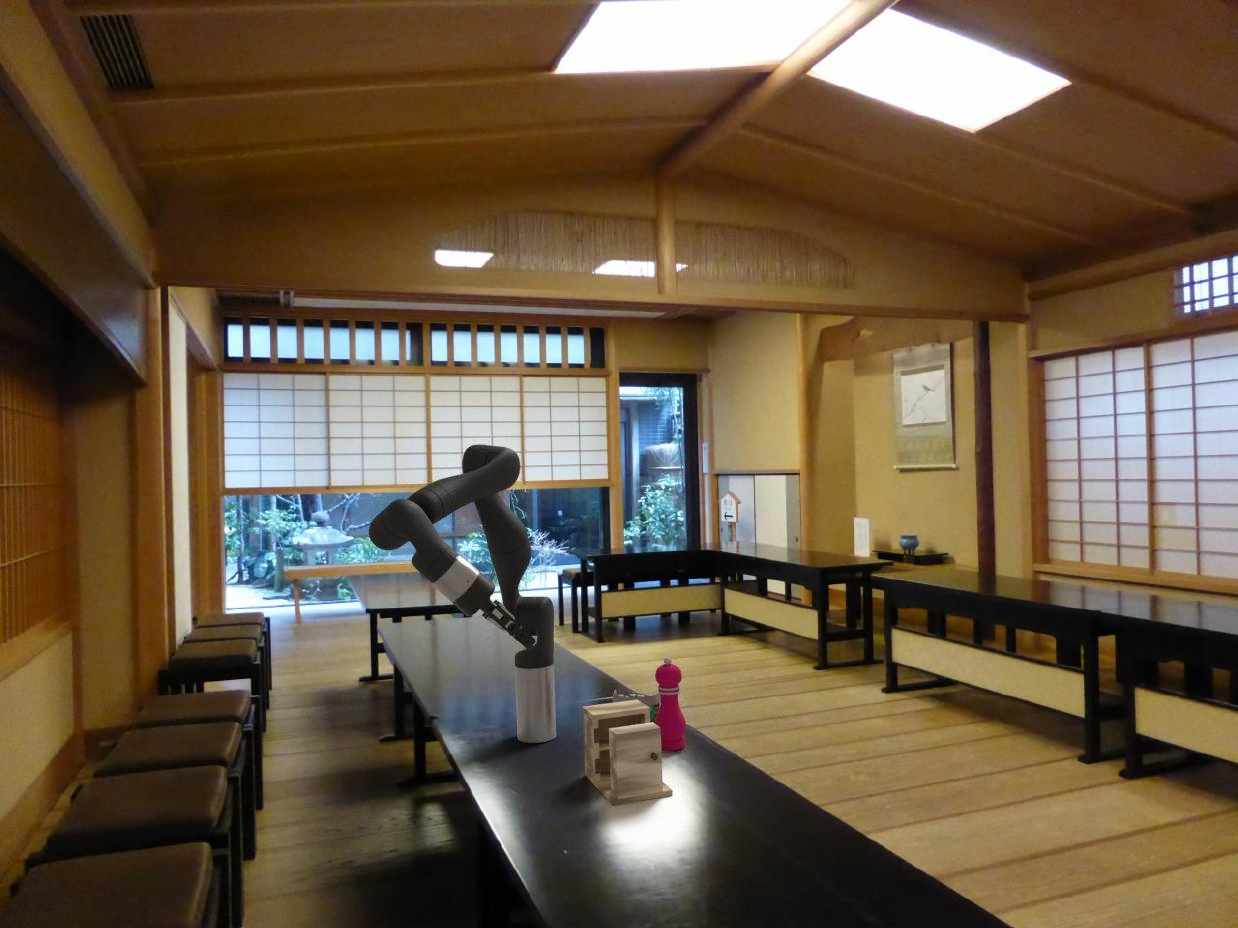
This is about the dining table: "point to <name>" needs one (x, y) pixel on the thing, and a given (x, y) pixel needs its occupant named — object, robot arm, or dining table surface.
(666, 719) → the pepper mill
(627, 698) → the food container
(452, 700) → the dining table surface
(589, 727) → the cabinet
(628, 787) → the door
